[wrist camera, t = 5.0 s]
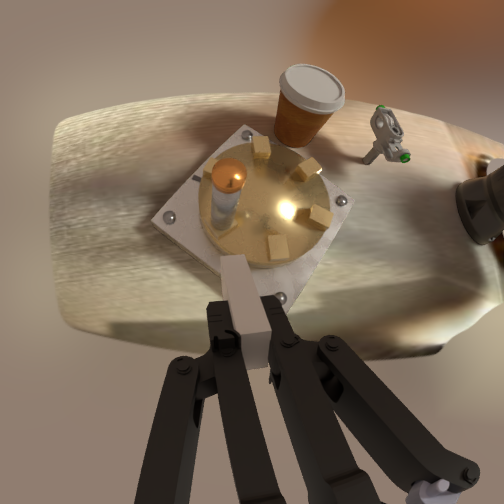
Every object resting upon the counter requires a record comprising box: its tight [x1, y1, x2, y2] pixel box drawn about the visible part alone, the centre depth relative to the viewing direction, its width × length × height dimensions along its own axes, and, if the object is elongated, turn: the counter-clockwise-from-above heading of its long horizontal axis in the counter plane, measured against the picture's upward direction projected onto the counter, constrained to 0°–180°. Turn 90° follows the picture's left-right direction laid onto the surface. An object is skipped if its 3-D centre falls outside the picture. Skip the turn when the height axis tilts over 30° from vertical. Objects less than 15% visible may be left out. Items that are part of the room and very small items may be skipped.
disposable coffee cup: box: [274, 64, 345, 148], centre depth 37 cm, size 10×10×12 cm
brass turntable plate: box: [198, 136, 334, 268], centre depth 28 cm, size 16×16×14 cm
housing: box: [151, 124, 355, 314], centre depth 36 cm, size 20×20×3 cm
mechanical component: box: [363, 105, 411, 164], centre depth 39 cm, size 3×10×10 cm, turn 10°
